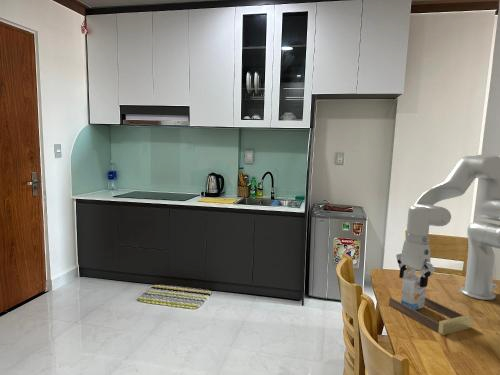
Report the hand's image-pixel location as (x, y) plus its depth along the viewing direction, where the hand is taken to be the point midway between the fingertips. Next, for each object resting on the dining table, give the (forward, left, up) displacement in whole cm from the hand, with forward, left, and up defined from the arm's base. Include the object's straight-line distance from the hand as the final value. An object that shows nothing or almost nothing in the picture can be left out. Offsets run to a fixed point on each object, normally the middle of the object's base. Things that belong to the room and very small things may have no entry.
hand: (412, 282), depth 133 cm
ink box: (-1, 0, -11) cm, 11 cm away
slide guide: (-1, +7, -10) cm, 13 cm away
